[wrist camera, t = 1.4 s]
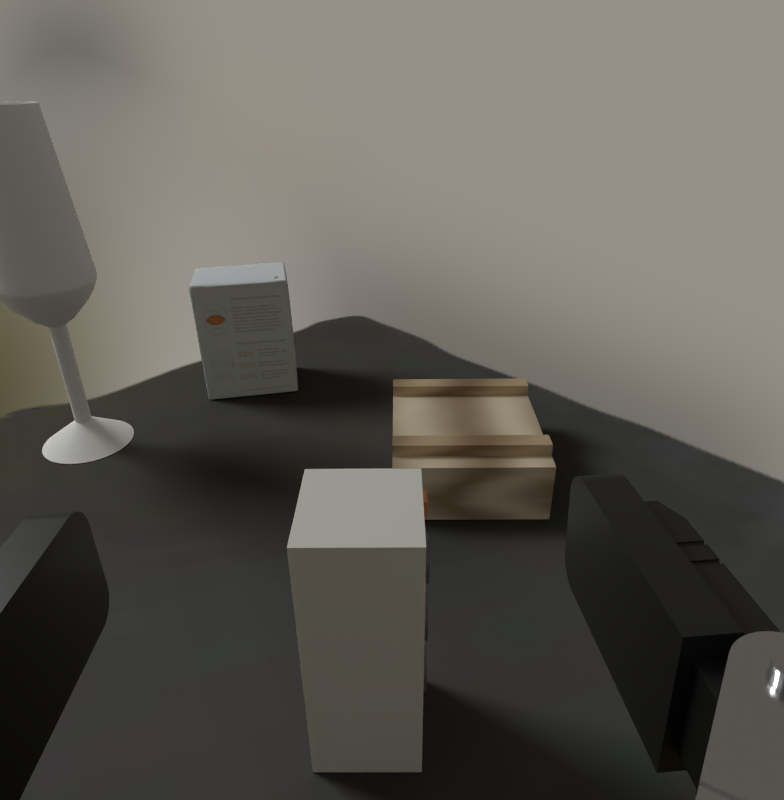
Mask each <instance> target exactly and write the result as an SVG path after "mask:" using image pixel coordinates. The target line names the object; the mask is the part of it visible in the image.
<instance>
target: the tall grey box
mask: <svg viewBox="0 0 784 800" xmlns="http://www.w3.org/2000/svg"><path fill="white" fill-rule="evenodd" d="M427 515H428V499H427V490H423V488H422V472H421V468H405V469H305V471H304V475H303V479H302V484H301V488H300V492H299V497H298V501H297V506H296V510H295V514H294V519H293V523H292V527H291V532H290V536H289V541H288V545H287V554H288V562H289V571H290V580H291V588H292V597H293V605H294V614H295V623H296V631H297V640H298V648H299V657H300V666H301V674H302V683H303V692H304V700H305V709H306V717H307V726H308V735H309V743H310V752H311V760H312V769H313V772H422V739H423V692H426V689H427V668H426V646H425V645H424V641H427V640H428V608H427V593H426V592H425V584H426V583H429V541H428V534H425V520H424V519H427Z"/></svg>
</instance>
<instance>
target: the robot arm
mask: <svg viewBox="0 0 784 800" xmlns="http://www.w3.org/2000/svg"><path fill="white" fill-rule="evenodd" d="M565 563H566V571H567V576H568V581H569V584H570V587H571V590H572V592H573V594H574V597H575V599H576V601H577V603H578V605H579V607H580V609H581V612H582V614H583V616H584V618H585V620H586V622H587V624H588V626H589V629H590V631H591V633H592V635H593V637H594V639H595V641H596V644H597V646H598V648H599V650H600V652H601V654H602V656H603V659H604V661H605V663H606V665H607V667H608V669H609V671H610V673H611V676H612V678H613V680H614V682H615V684H616V686H617V688H618V691H619V693H620V695H621V697H622V699H623V701H624V703H625V706H626V708H627V710H628V712H629V714H630V716H631V718H632V720H633V723H634V725H635V727H636V729H637V731H638V733H639V735H640V738H641V740H642V742H643V744H644V746H645V748H646V750H647V753H648V755H649V757H650V759H651V761H652V763H653V765H654V767H655V770H656V772H657V773H660V772H671V771H682V770H687V772H688V774H689V776H690V777H691V779H692V781H693V783H694V785H695V787H696V789H697V791H696V796H695V800H784V633H782V632H780V631H779V630H778V628H777V627H776V626H775V625H774V624H773V622H772V621H771V620H770V619H769V618H768V616H767V615H766V614H765V613H764V612H763V610H762V609H761V608H760V607H759V606H758V604H757V603H756V602H755V601H754V600H753V599H752V597H751V596H750V595H749V594H748V593H747V591H746V590H745V589H744V588H743V587H742V585H741V584H740V583H739V582H738V581H737V579H736V578H735V577H734V576H733V575H732V573H731V572H730V571H729V570H728V569H727V568H726V566H725V565H724V564H720V562H719V558H718V557H717V556H716V554H715V553H714V552H713V551H712V550H711V548H710V547H709V546H708V545H704V540H703V539H702V538H701V536H700V535H699V534H698V533H697V532H696V531H695V529H694V528H693V527H692V526H691V525H690V523H689V522H688V521H687V520H686V519H685V518H684V517H682V516H681V515H679V514H677V513H676V512H674V511H673V510H671V509H669V508H668V507H666V506H665V505H663V504H661V503H660V502H658V501H649V502H644V501H643V499H642V498H641V497H640V495H639V494H638V493H637V492H636V490H635V489H634V488H633V486H632V485H631V484H630V482H629V481H628V480H627V478H626V477H625V476H624V475H622V474H620V473H617V474H603V475H589V476H577V477H575V478H574V479H573V480H572V483H571V489H570V500H569V512H568V524H567V536H566V548H565ZM108 609H109V591H108V586H107V582H106V579H105V575H104V572H103V569H102V565H101V562H100V559H99V555H98V552H97V549H96V545H95V542H94V538H93V535H92V532H91V528H90V525H89V522H88V520H87V518H86V517H85V515H84V514H83V513H81V512H63V513H50V514H36V515H30V516H28V517H26V518H25V519H24V520H23V521H22V522H21V523H20V525H19V526H18V527H17V528H16V530H15V531H14V532H13V533H12V534H11V536H10V537H9V538H8V539H7V540H6V542H5V543H4V544H3V545H2V547H1V548H0V800H20V798H21V796H22V794H23V791H24V789H25V787H26V785H27V783H28V781H29V779H30V777H31V775H32V773H33V771H34V769H35V767H36V765H37V763H38V761H39V759H40V757H41V755H42V753H43V751H44V749H45V746H46V744H47V742H48V740H49V738H50V736H51V734H52V732H53V730H54V728H55V726H56V724H57V722H58V720H59V718H60V716H61V714H62V712H63V710H64V708H65V706H66V703H67V701H68V699H69V697H70V695H71V693H72V691H73V689H74V687H75V685H76V683H77V681H78V679H79V677H80V675H81V673H82V671H83V669H84V667H85V665H86V663H87V661H88V658H89V656H90V654H91V652H92V650H93V648H94V646H95V644H96V642H97V640H98V638H99V636H100V634H101V632H102V630H103V628H104V625H105V623H106V620H107V615H108Z"/></svg>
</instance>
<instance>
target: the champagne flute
mask: <svg viewBox="0 0 784 800" xmlns="http://www.w3.org/2000/svg"><path fill="white" fill-rule="evenodd" d="M96 277H97V273H96V269H95V266H94V263H93V261H92V257H91V255H90V252H89V249H88V246H87V243H86V240H85V237H84V234H83V231H82V229H81V225H80V222H79V220H78V217H77V214H76V211H75V208H74V205H73V202H72V199H71V196H70V193H69V191H68V187H67V185H66V182H65V179H64V176H63V173H62V170H61V167H60V164H59V161H58V158H57V155H56V152H55V150H54V147H53V144H52V141H51V138H50V135H49V132H48V129H47V126H46V124H45V121H44V118H43V115H42V112H41V109H40V106H39V103H38V102H0V302H1V303H2V304H3V305H5V306H6V307H7V308H9V309H10V310H12V311H13V312H15V313H17V314H19V315H21V316H23V317H24V318H26V319H28V320H30V321H32V322H34V323H36V324H40V325H43V326H47V327H48V329H49V332H50V336H51V339H52V343H53V346H54V349H55V353H56V357H57V360H58V363H59V367H60V371H61V374H62V377H63V381H64V384H65V388H66V391H67V395H68V398H69V402H70V405H71V409H72V412H73V416H74V419H75V420H74V421H73V422H72V423H70V424H69V425H67V426H66V427H64V428H63V429H62V430H60V431H59V432H57V433H56V434H54V435H53V436H52V437H51V438H49V439H48V440H47V442H46V443H45V444H44V446H43V448H42V453H43V455H44V457H45V458H46V459H48V460H50V461H52V462H56V463H61V464H78V463H86V462H90V461H95V460H98V459H101V458H104V457H107V456H109V455H112V454H114V453H115V452H117V451H119V450H121V449H122V448H124V447H125V446H126V445H127V444H128V443H129V442H130V441H131V440H132V438H133V435H134V430H133V428H132V426H131V425H129V424H128V423H125V422H123V421H119V420H113V419H106V418H99V417H92V416H91V414H90V410H89V407H88V403H87V399H86V396H85V392H84V388H83V385H82V381H81V377H80V374H79V370H78V366H77V363H76V359H75V355H74V352H73V348H72V344H71V341H70V337H69V333H68V330H67V326H66V323H68V322H69V321H70V320H72V319H73V318H74V317H75V316H76V314H77V313H78V312H79V311H80V309H81V308H82V307H83V305H84V304H85V303H86V302H87V300H88V299H89V297H90V295H91V293H92V291H93V289H94V286H95V283H96V280H97V278H96Z"/></svg>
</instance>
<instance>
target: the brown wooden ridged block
mask: <svg viewBox="0 0 784 800" xmlns="http://www.w3.org/2000/svg"><path fill="white" fill-rule="evenodd" d="M527 394H528V384H527V381H526V379H395V380H393V469H405V468H421V472H422V488H423V490H427V499H428V515H427V519H424V520H496V519H549V517H550V510H551V503H552V495H553V488H554V481H555V473H556V465H555V463H554V460H553V458H552V449H553V444H552V441H551V439H550V436H549V435H543V433H542V430H541V428H540V425H539V423H538V420H537V418H536V415H535V413H534V410H533V408H532V406H531V403H530V401H529V398H528V396H527Z"/></svg>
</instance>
